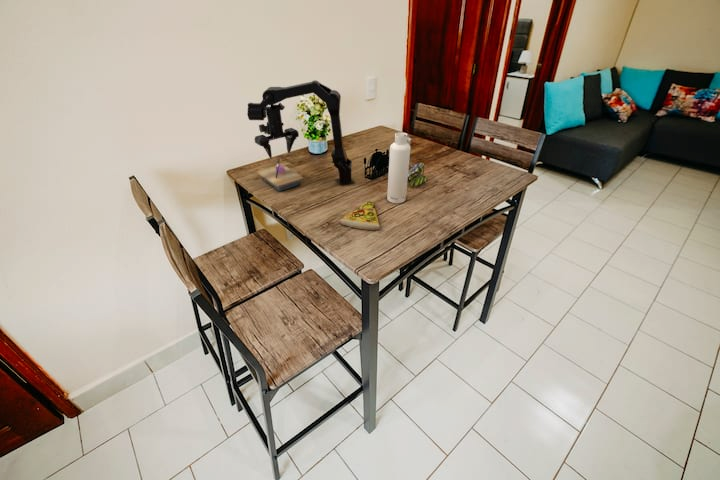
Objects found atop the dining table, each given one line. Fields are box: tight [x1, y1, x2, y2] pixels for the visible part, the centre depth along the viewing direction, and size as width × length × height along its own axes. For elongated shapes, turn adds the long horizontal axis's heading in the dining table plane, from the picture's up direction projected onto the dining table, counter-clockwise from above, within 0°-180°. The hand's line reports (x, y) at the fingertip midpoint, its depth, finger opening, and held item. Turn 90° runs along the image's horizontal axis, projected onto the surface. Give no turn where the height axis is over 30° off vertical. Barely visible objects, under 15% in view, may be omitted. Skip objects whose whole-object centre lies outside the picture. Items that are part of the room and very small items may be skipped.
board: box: [256, 163, 304, 188], centre depth 156 cm, size 20×13×1 cm, turn 40°
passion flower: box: [407, 162, 429, 188], centre depth 156 cm, size 11×11×12 cm
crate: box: [262, 177, 300, 192], centre depth 157 cm, size 16×10×3 cm, turn 40°
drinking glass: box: [407, 136, 412, 146], centre depth 180 cm, size 7×7×10 cm
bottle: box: [386, 131, 412, 204], centre depth 137 cm, size 8×8×28 cm
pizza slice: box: [340, 200, 381, 231], centre depth 133 cm, size 16×21×3 cm
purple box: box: [276, 156, 286, 178], centre depth 154 cm, size 7×5×9 cm
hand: (279, 155), depth 151 cm, fingers open, 9 cm apart
